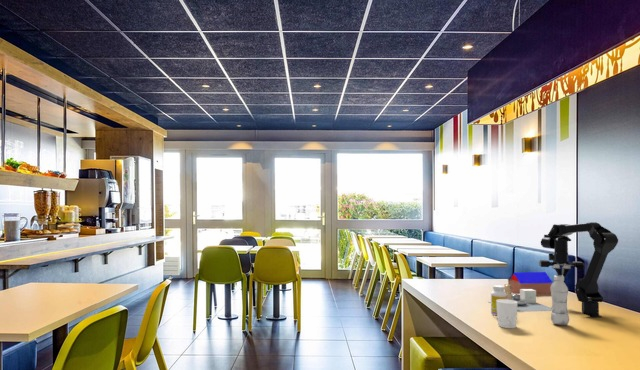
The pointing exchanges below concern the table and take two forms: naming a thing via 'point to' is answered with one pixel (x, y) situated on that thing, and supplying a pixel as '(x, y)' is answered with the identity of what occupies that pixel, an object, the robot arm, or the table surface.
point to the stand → (530, 301)
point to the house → (530, 282)
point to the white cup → (506, 313)
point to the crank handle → (514, 295)
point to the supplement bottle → (497, 297)
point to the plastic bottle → (559, 301)
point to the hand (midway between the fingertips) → (561, 282)
